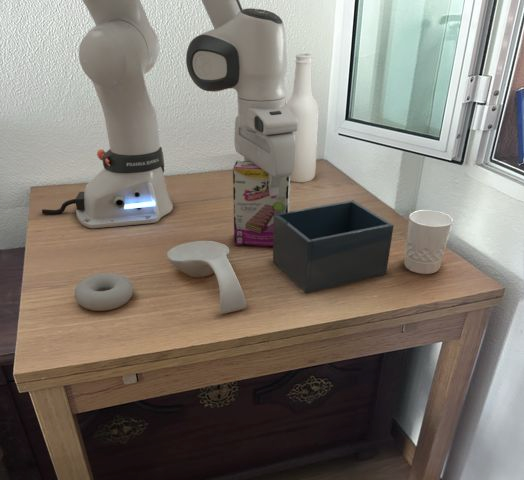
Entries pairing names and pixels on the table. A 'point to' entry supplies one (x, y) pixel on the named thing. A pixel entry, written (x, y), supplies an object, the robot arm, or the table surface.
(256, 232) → the candy bar box
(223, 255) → the spoon rest
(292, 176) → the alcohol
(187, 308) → the table surface
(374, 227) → the holder
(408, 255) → the white cup
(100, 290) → the donut
